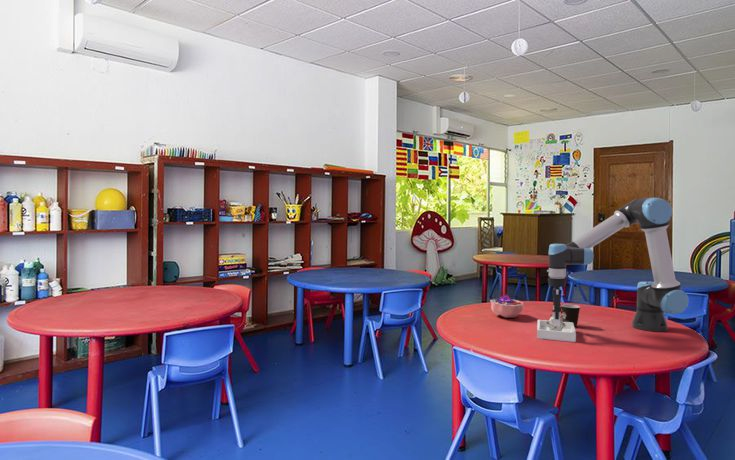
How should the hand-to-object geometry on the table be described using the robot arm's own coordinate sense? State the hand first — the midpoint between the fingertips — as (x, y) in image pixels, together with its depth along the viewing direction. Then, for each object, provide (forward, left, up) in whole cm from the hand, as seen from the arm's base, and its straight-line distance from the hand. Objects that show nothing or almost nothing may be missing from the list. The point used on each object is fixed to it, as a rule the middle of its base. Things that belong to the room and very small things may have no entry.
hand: (556, 322), depth 226 cm
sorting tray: (0, 0, -5) cm, 5 cm away
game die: (0, 0, -5) cm, 5 cm away
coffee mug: (-7, -22, -6) cm, 24 cm away
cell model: (+24, -30, -6) cm, 39 cm away
